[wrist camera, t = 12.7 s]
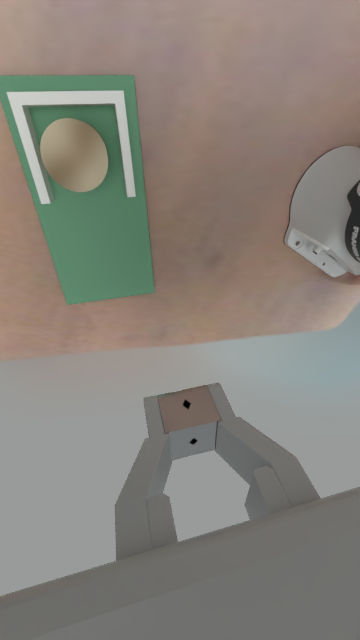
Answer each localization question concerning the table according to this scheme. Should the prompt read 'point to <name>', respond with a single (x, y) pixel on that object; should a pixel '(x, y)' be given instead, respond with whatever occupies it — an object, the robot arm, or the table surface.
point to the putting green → (92, 206)
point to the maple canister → (74, 154)
